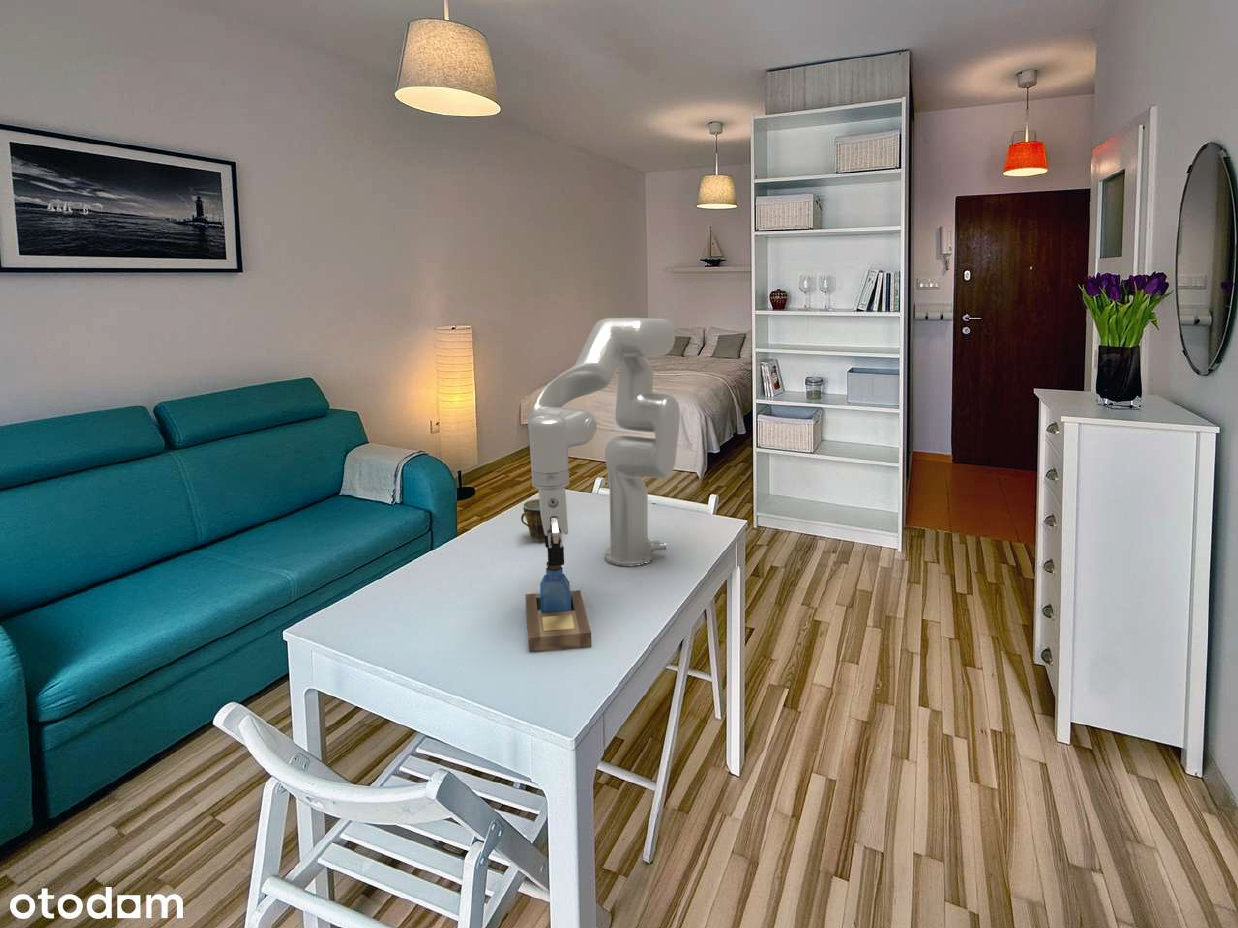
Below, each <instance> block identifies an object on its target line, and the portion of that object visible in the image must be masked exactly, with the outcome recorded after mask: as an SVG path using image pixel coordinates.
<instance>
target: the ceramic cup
mask: <svg viewBox="0 0 1238 928" xmlns="http://www.w3.org/2000/svg"><path fill="white" fill-rule="evenodd" d="M522 509H523V513H522V514H521V518H520V521H521V523H522V524H523V525H525V526H527V528H528V531H529V536H530V540H531V542H533V543H536V544H537V543H538V544H545V534H544V530H543V525H542V520H541V513H540V503H539V498H538V499H537V498H535V499H531V500H528V501H527V500H526V501H525V502H524V503H523V504H522ZM524 517H525V520H526V522H525V521H524Z"/></svg>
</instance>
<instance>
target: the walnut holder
mask: <svg viewBox="0 0 1238 928" xmlns="http://www.w3.org/2000/svg"><path fill="white" fill-rule="evenodd" d="M570 594H571V611H562V612H550V613H541V600H540V592H539V593H537V592H536V593H525V609H526V610H525V613H526V614H525V615H526V622H527V623H526V625H527V635H528V637H527V638H528V649H529V653H535V652H536V653H537V652H547V651H558V650H559V649H560V650H569V649H579V648H590V647H592V631H591V626H590V623H589V619H588V615H587V610H586V607H585V603H584V600H583V596H582V592H581V589H578V590H577V589H576V590H570ZM560 650H559V651H560Z"/></svg>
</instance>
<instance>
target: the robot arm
mask: <svg viewBox="0 0 1238 928" xmlns="http://www.w3.org/2000/svg"><path fill="white" fill-rule="evenodd" d="M675 342H676V330H675V328H674V325H673V324H672V323H671V321H670V320H669V319H666V318H652V317H651V318H650V317H648V318H647V317H646V318H644V317H643V318H642V317H619V318H618V317H613V318H612V317H608V318H603V319H600V320H598V321H597V322H596V323H595V324H594V325H593V327H592V329H591V331H590V333H589V336H588V338H587V339H586V341H585V344H584V346H583V348H582V350H581V352H580V354H579V355H578V357H577V360H576V362H575V363H574V365H573V366H571V367H570V368H568V369H567V370H565V371H563V372H561V373H560V374H559V375H558V376H556V377H555V378H554V379H552V380H551V381H549V382H548V383H547V384H546V385H545V386H544V387H543V388H542V389H541V391H540V392H539V394H538V396H537V398H536V400H535V402H534V404H533V407H532V408H531V410H530V414H529V415H528V416H529V417H528V421H527V422H528V423H527V429H528V434H529V435H528V436H529V453H530V467H531V469H530V470H531V484H532V485H531V486H532V487H533V488H535V489H538V499H539V503H540V513H541V520H542V525H543V530H544V534H545V543H544V545H545V548H546V549H547V562H548V565H549V566H559V565H561V566H564V565H565V548H564V547H565V546H564V544H563V535H568V533H569V524H568V523H569V522H568V510H567V498H566V495H567V494H566V487H568V486H569V485H570V468H569V467H570V465H569V462H570V461H569V449H570V448H575V447H581V446H584V445H587V443H588V444H589V442H591V441H592V439H594V437H595V436H596V432H597V427H598V426H597V420H596V418H595V416H594V415H593V414H592V413H591V412H590V411H588V410H585V409H581V408H569V407H564V406H565V405H566V404H567V403H569V402H571V401H573V400H575V399H578V398H581V397H584V396H588V395H590V394H593V393H596V392H599V391H601V390H604V389H605V388H607V387H608V386H609V384H610V383H611V381H612V379H613V376H614V374H615V372H616V369H618V379H617V380H618V382H617V383H618V384H617V393H616V402H615V414H614V415H615V421H616V422H615V423H616V425H617V426H618V427H619V428H620V429H622V430H627V431H634V432H641V433H653V434H654V436H655V437H654V438H652V437H644V436H633V435H617V436H615V437H613V438H611V439H610V440H609V441H608V442H607V444H606V446H605V448H604V461H605V464H606V465H605V466H606V470H607V476H608V485H609V486H608V487H609V534H610V535H609V537H610V538H609V539H610V540H609V541H610V542H609V544H610V548H608V549H607V550H605V552H604V560H605V561H606V562H608V563H609V564H611V563H612V564H611V565H614V564H616V565H615V566H618V565H623V566H622V567H630V566H629V565H638V564H642V563H645V562H648V561H650V560H652V559H653V560H654V558H655V554H654V553H655V551H659V552H660V551H666V550H667V543H666V542H660V540H653V541H652V540H650V539H649V536H648V535H649V534H648V533H649V523H648V518H649V515H648V514H649V513H648V510H649V509H648V508H649V507H648V506H649V505H648V502H649V501H648V500H649V499H648V498H649V496H648V488H647V485H646V483H645V481H644V480H643V478H642V477H644V478H651V479H652V478H653V479H666V478H669V477H670V476H671V475H672V474H673V471H674V469H675V467H676V466H675V465H676V461H677V459H676V458H677V451H678V441H679V433H680V432H679V431H680V424H681V423H680V421H681V419H680V418H681V411H680V406H679V402H678V400H677V399H676V398H675V397H674V396H673V395H671V394H666V393H656V392H655V393H654V392H653V385H654V371H653V370H654V369H653V368H652V366H651V364H650V362H649V360H648V359H647V358H656V357H661V356H665V355H667V354H669V353H670V352H671V350H672V349H673V348H674V345H675ZM562 534H563V535H562ZM653 557H654V558H653ZM653 560H652V561H653ZM650 562H651V561H650Z"/></svg>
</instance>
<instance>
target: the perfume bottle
mask: <svg viewBox="0 0 1238 928" xmlns="http://www.w3.org/2000/svg"><path fill="white" fill-rule="evenodd" d="M546 566H547V567H546V568H545V573H546V574H544V576H543V577H542V580H541V582H540V583H539V588H540V589H539V593H540V600H541V613H550V612H562V611H572V608H571V594H570V591H571V588H570V587H571V585H570V581H569V580H568V577H567V576H566V575H565V573H564V572H563V571H564V570H563V566H562V565H559V566H549V565H548V561H546Z"/></svg>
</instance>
